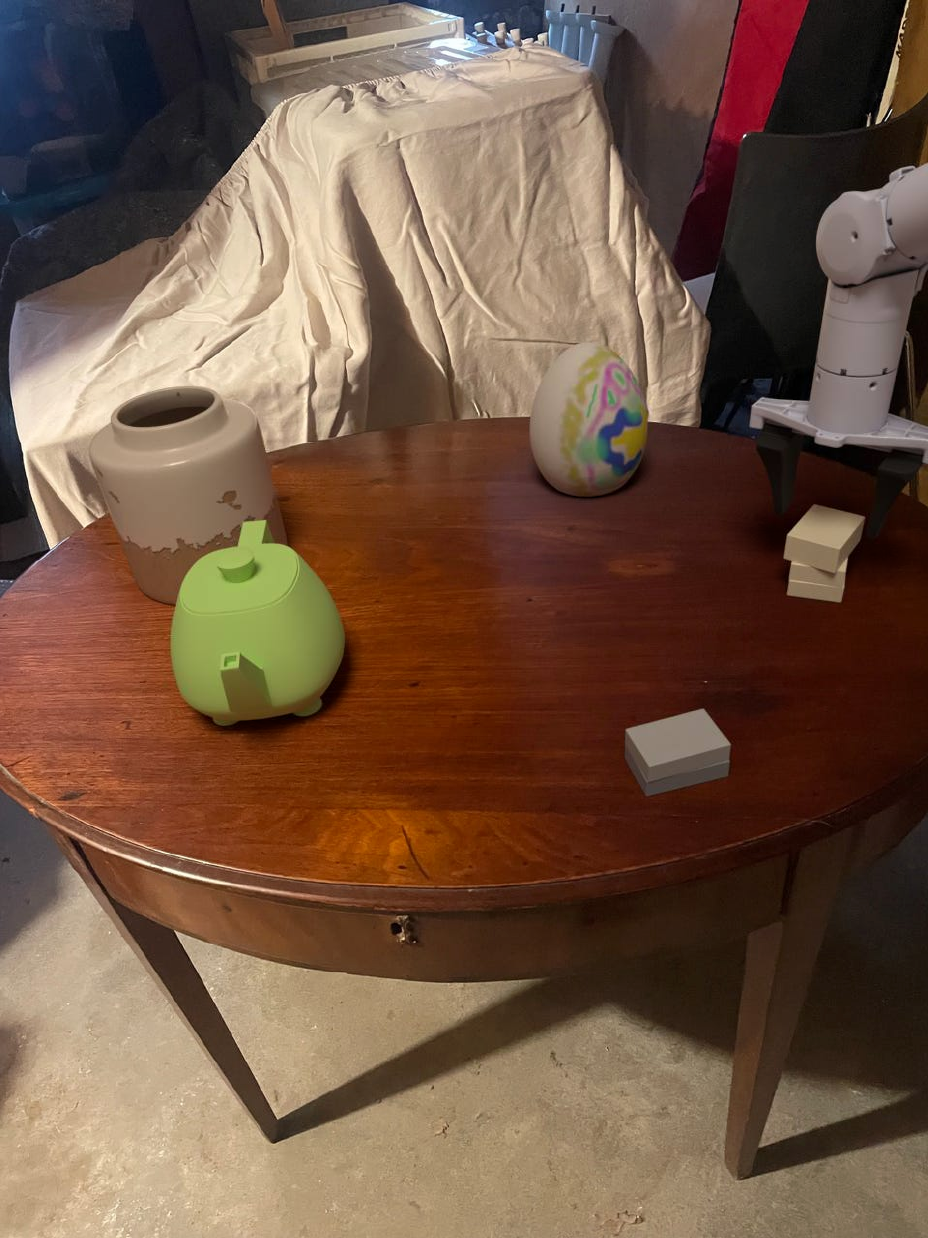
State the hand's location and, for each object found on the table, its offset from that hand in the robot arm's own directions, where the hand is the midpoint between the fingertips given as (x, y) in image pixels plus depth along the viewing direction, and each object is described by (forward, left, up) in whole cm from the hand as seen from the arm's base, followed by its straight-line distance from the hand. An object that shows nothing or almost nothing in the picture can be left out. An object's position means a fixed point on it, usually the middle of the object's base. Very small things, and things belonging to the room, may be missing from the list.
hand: (827, 520), depth 74 cm
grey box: (+8, +26, -6) cm, 27 cm away
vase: (+56, +11, -6) cm, 58 cm away
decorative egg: (+24, -14, -6) cm, 29 cm away
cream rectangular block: (0, 0, -3) cm, 3 cm away
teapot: (+40, +26, -6) cm, 48 cm away
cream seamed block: (0, 0, -6) cm, 6 cm away
